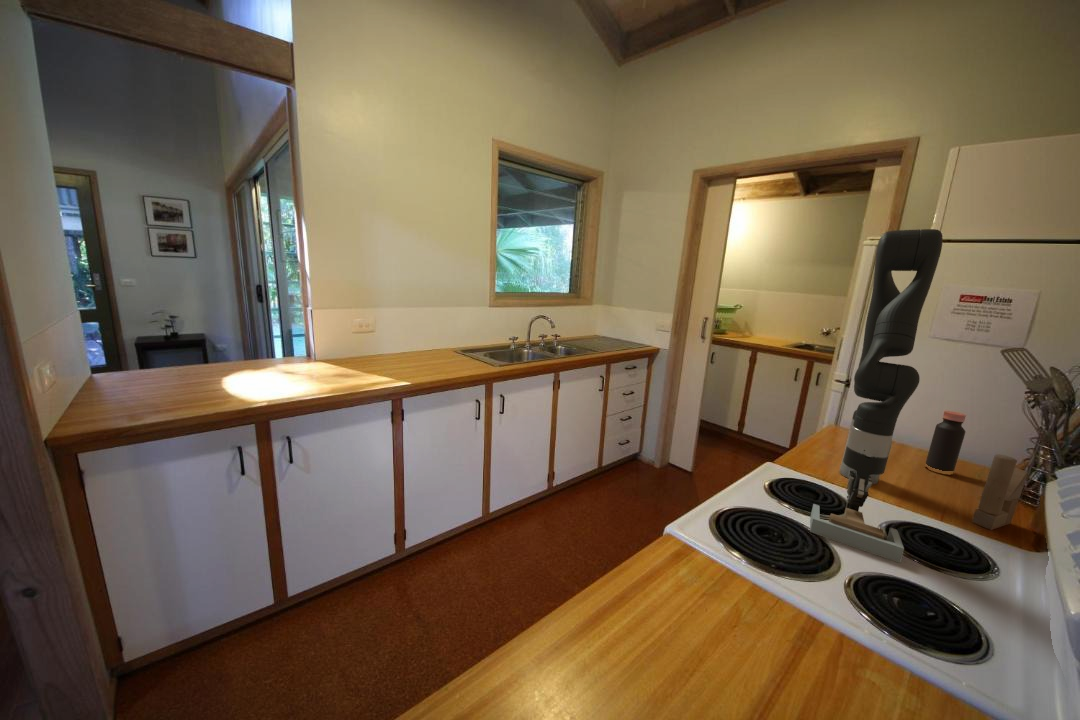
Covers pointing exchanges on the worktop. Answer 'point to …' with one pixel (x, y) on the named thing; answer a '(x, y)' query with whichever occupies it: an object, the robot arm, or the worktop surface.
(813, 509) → the bracket
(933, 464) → the bottle
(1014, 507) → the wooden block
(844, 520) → the t block
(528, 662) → the worktop surface
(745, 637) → the worktop surface
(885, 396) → the robot arm
